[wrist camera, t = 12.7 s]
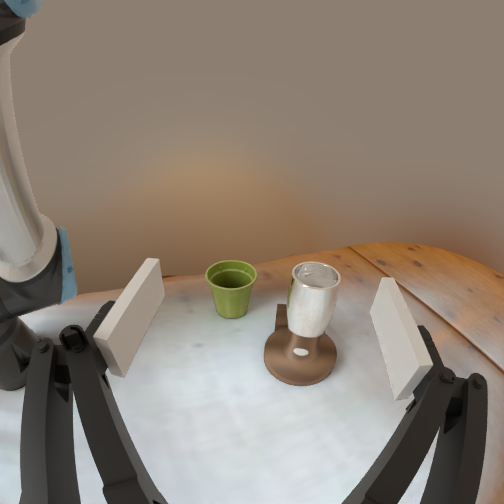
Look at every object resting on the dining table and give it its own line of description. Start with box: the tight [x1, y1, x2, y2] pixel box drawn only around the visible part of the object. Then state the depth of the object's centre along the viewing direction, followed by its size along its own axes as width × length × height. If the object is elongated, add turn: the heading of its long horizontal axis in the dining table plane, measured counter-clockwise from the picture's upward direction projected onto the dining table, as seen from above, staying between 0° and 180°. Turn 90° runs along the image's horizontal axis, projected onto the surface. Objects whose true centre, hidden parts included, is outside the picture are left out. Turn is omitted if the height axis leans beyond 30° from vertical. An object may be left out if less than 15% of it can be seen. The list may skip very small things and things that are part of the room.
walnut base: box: [264, 304, 337, 386], centre depth 43 cm, size 13×12×6 cm
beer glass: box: [283, 262, 341, 364], centre depth 40 cm, size 7×7×15 cm
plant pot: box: [206, 260, 257, 319], centre depth 53 cm, size 9×9×9 cm
